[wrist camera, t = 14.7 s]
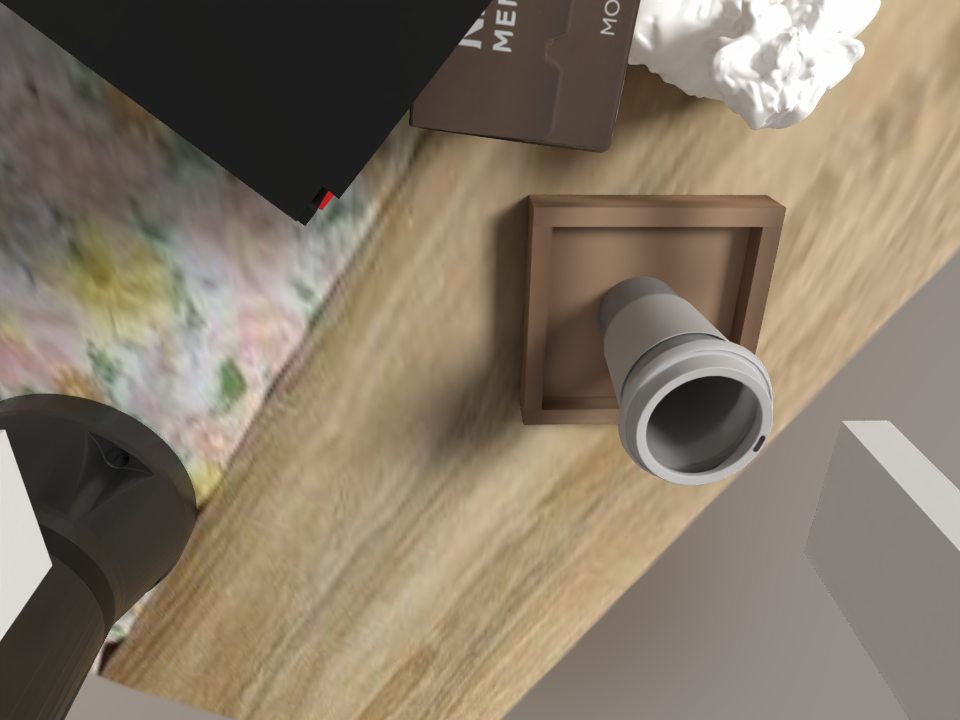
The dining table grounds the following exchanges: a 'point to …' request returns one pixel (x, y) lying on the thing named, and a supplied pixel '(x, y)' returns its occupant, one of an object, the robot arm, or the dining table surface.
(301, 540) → the dining table surface
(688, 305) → the cup
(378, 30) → the electrical component
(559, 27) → the coffee box
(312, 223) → the dining table surface
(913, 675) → the robot arm
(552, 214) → the tray
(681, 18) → the white lumpy piece
